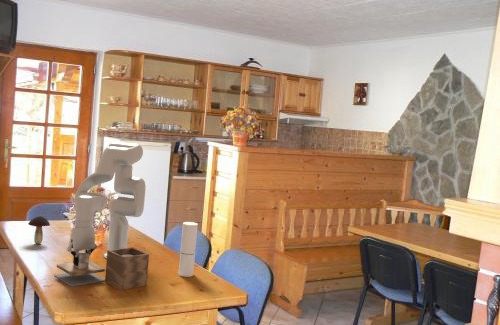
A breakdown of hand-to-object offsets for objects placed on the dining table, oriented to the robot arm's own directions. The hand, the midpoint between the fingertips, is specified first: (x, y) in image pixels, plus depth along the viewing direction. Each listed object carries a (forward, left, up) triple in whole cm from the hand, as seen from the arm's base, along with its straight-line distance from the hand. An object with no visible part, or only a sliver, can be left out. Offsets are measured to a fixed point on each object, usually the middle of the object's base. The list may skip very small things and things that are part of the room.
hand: (80, 264), depth 226 cm
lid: (0, 0, -2) cm, 2 cm away
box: (-14, +15, -6) cm, 22 cm away
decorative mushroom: (-8, -63, -7) cm, 64 cm away
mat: (0, 0, -6) cm, 6 cm away
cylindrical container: (-46, +17, -7) cm, 50 cm away
